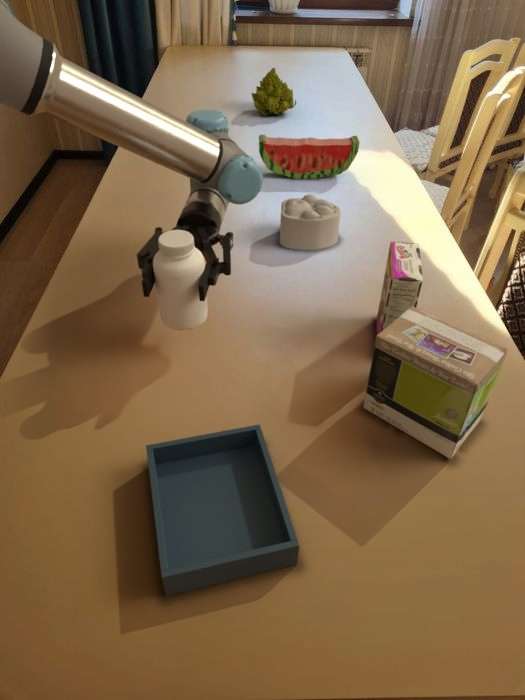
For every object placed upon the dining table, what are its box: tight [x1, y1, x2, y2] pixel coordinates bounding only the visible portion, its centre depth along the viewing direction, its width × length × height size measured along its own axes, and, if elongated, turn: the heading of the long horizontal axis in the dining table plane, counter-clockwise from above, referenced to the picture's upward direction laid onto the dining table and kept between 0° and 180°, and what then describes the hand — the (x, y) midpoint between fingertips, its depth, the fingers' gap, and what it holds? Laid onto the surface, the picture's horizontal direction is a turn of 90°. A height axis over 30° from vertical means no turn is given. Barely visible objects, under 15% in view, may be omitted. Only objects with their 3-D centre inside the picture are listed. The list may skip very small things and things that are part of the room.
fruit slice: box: [258, 133, 360, 180], centre depth 145 cm, size 26×6×10 cm, turn 91°
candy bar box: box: [376, 241, 424, 336], centre depth 91 cm, size 11×5×16 cm, turn 171°
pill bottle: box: [153, 229, 209, 331], centre depth 86 cm, size 8×8×15 cm
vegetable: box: [251, 67, 297, 117], centre depth 184 cm, size 15×16×15 cm
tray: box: [145, 423, 300, 597], centre depth 68 cm, size 19×16×4 cm
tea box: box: [363, 306, 509, 460], centre depth 78 cm, size 15×10×15 cm, turn 48°
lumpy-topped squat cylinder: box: [279, 193, 342, 251], centre depth 119 cm, size 10×13×9 cm
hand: (173, 291), depth 81 cm, fingers closed on pill bottle, 8 cm apart
